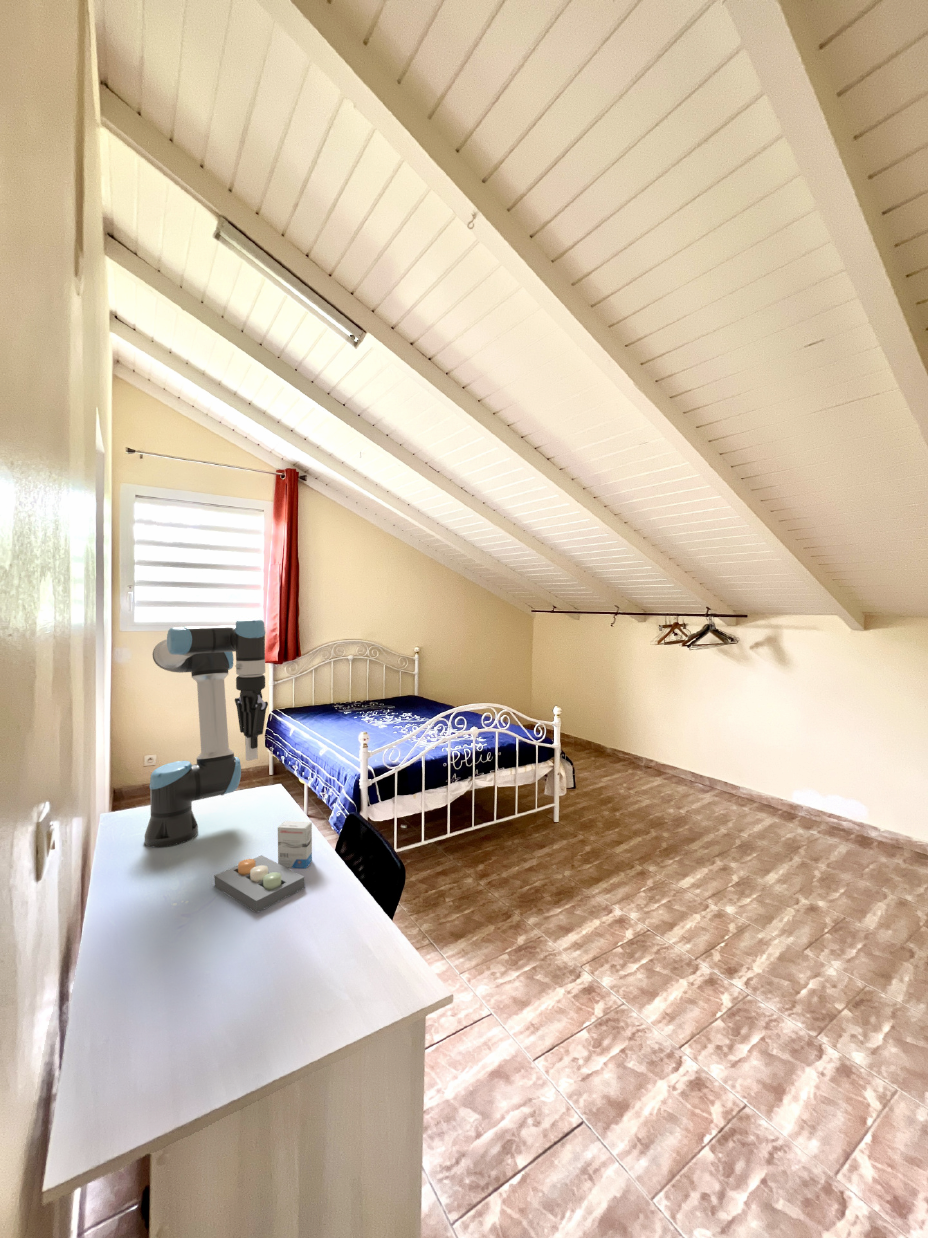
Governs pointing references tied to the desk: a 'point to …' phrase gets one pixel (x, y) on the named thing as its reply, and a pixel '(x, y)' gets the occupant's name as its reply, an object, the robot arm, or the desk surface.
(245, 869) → the orange button
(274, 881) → the green button
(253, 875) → the cream button
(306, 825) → the ink box
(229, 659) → the robot arm
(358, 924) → the desk surface
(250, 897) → the panel
